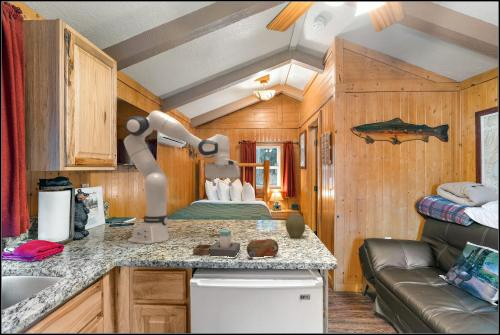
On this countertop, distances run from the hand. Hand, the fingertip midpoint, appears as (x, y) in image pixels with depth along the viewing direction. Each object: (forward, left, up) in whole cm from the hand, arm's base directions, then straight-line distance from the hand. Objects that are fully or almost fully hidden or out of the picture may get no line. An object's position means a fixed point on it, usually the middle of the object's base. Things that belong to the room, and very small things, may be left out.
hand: (222, 186), depth 147 cm
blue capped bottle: (+8, -24, -31) cm, 40 cm away
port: (+8, -24, -31) cm, 40 cm away
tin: (+26, -26, -31) cm, 48 cm away
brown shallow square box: (-3, -24, -31) cm, 39 cm away
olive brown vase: (+42, +12, -31) cm, 54 cm away
